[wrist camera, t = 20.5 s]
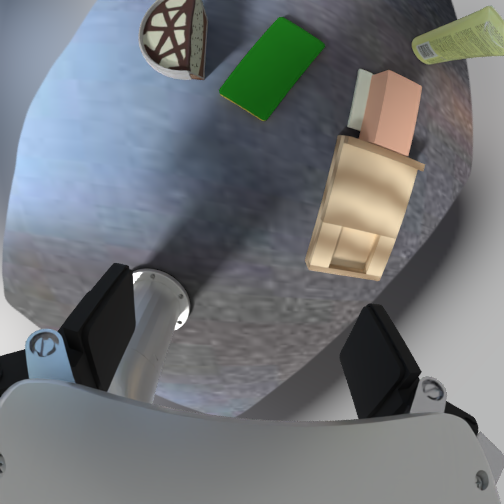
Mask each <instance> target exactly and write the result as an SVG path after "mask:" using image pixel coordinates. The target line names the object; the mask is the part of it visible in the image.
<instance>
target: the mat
mask: <svg viewBox="0 0 504 504" xmlns="http://www.w3.org/2000/svg"><path fill="white" fill-rule="evenodd" d="M372 75H375V74H373V73H370V72H368V71H365V70H363V69H358V75H357V80H356V86H355V91H354V96H353V101H352V106H351V111H350V115H349V120H348V125H347V127H349V128H352V129H355V130H358V131H361V127H362V122H363V118H364V113H365V108H366V104H367V99H368V94H369V88H370V83H371V78H372Z"/></svg>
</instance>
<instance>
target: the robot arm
mask: <svg viewBox="0 0 504 504" xmlns="http://www.w3.org/2000/svg"><path fill="white" fill-rule="evenodd" d="M189 313H190V300H189V297H188V294H187V292H186V291H185V289H184V287H183V286H182V285H181V284H180V283H179V282H178V281H177V280H176V279H175V278H173V277H172V276H170V275H169V274H167V273H165V272H162V271H160V270H155V269H147V268H145V269H139V270H136V271H132V270H130V269H129V266H128V265H124V264H119V263H114V264H113V265H112V266H111V267H110V268H109V269H108V270H107V272H106V273H105V274H104V275H103V276H102V278H101V279H100V280H99V281H98V282H97V284H96V285H95V286H94V287H93V288H92V290H91V291H89V292H88V293H87V294H86V295H85V296H84V298H83V299H82V300H81V301H80V303H79V304H78V305H77V306H76V308H75V309H74V310H73V312H72V313H71V314H70V316H69V317H68V318H67V319H66V321H65V322H64V324H63V325H62V326H61V328H60V329H59V330H58V332H57V331H55V330H53V329H40V330H38V331H35V332H34V333H32V334H31V335H30V336H29V337H28V339H27V341H26V344H25V349H24V350H21V351H17V352H13V353H10V354H6V355H2V356H0V504H501V502H500V498H499V495H498V491H497V488H496V483H497V481H498V479H499V477H500V475H501V472H502V470H503V468H504V455H503V454H502V452H501V451H500V450H499V449H498V448H497V447H496V446H495V445H494V444H493V443H492V442H491V441H490V440H489V439H488V438H487V437H485V435H484V434H482V432H479V433H478V425H477V422H476V420H475V418H474V417H473V416H471V415H469V414H468V413H466V412H464V411H463V410H461V409H459V408H457V407H455V406H454V405H452V404H450V403H449V402H447V401H446V397H447V392H446V389H445V387H444V386H443V385H442V383H441V382H439V381H438V380H437V379H435V378H432V377H423V378H422V379H419V377H418V376H419V375H420V374H421V370H420V368H419V366H418V365H417V363H416V361H415V359H414V357H413V356H412V354H411V352H410V350H409V349H408V347H407V345H406V344H405V342H404V340H403V339H402V337H401V335H400V333H399V332H398V330H397V329H396V327H395V325H394V324H393V322H392V320H391V319H390V317H389V316H388V314H387V312H386V311H385V309H384V308H383V306H382V305H379V304H368V305H367V306H365V307H363V309H362V311H361V313H360V315H359V317H358V319H357V321H356V323H355V325H354V327H353V329H352V331H351V333H350V335H349V337H348V339H347V341H346V343H345V345H344V347H343V349H342V350H341V353H340V361H341V364H342V367H343V370H344V374H345V376H346V380H347V383H348V386H349V389H350V392H351V396H352V399H353V402H354V405H355V409H356V412H357V415H358V418H359V419H354V420H341V421H271V420H255V419H242V418H233V417H224V416H216V415H209V414H202V413H196V412H189V411H184V410H179V409H174V408H169V407H164V406H159V405H155V404H152V403H153V399H154V395H155V392H156V388H157V384H158V381H159V378H160V374H161V371H162V368H163V364H164V361H165V358H166V355H167V351H168V348H169V345H170V342H171V339H172V335H173V332H174V330H176V329H179V328H180V327H181V326H183V324H184V323H185V322H186V321H187V318H188V316H189Z"/></svg>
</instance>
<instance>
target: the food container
mask: <svg viewBox="0 0 504 504" xmlns="http://www.w3.org/2000/svg"><path fill="white" fill-rule="evenodd" d="M207 30H208V18H207V15H206V12H205V9H204V6H203V3H202V0H157V1H156V2H155V3H154V4H153V5H152V6H151V7H150V8H149V9H148V11H147V12H146V14H145V15H144V17H143V19H142V22H141V24H140V29H139V46H140V49H141V52H142V54H143V56H144V58H145V59H146V61H147V62H148V64H149V65H150V66H151V67H152V68H153V69H155V70H156V71H157V72H159V73H161V74H163V75H165V76H168V77H171V78H175V79H182V80H192V79H197V80H204V77H205V58H206V43H207Z"/></svg>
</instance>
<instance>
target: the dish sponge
mask: <svg viewBox="0 0 504 504" xmlns="http://www.w3.org/2000/svg"><path fill="white" fill-rule="evenodd" d="M324 47H325V44H324V43H323V42H322V41H320V40H319V39H317V38H316V37H314V36H313V35H311V34H310V33H308V32H307V31H305V30H304V29H302V28H300V27H299V26H297V25H295V24H294V23H292V22H291V21H289V20H287V19H285V18H284V17H279V18H278V19H277V20H276V21H275V22H274V23H273V24H272V25H271V26H270V27H269V29H268V30H267V31H266V32H265V33H264V34H263V35H262V37H261V38H260V39H259V40H258V41H257V42H256V44H255V45H254V46H253V47H252V48H251V49H250V51H249V52H248V53H247V54H246V56H245V57H244V58H243V59H242V61H241V62H240V63H239V64H238V66H237V67H236V68H235V69H234V71H233V72H232V73H231V75H230V76H229V77H228V79H227V80H226V81H225V83H224V84H223V85H222V87H221V88H220V89H219V93H220V95H221V96H223V97H225V98H226V99H228V100H230V101H231V102H233V103H235V104H236V105H238V106H239V107H241V108H243V109H244V110H246V111H247V112H249V113H251V114H252V115H254V116H255V117H257V118H258V119H260V120H261V121H266V120H267V119H268V118H269V117H270V115H271V114H272V113H273V111H274V110H275V109H276V107H277V106H278V105H279V103H280V102H281V101H282V99H283V98H284V97H285V96H286V94H287V93H288V92H289V90H290V89H291V88H292V87H293V85H294V84H295V83H296V81H297V80H298V79H299V78H300V76H301V75H302V74H303V73H304V71H305V70H306V69H307V68H308V67H309V65H310V64H311V63H312V62H313V61H314V59H315V58H316V57H317V56H318V55H319V53H320V52H321V51H322V50H323V49H324Z"/></svg>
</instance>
